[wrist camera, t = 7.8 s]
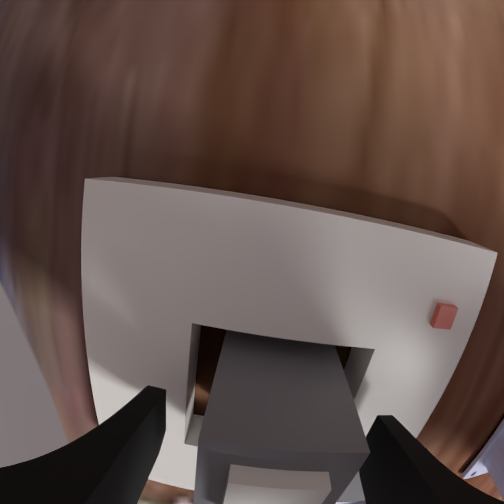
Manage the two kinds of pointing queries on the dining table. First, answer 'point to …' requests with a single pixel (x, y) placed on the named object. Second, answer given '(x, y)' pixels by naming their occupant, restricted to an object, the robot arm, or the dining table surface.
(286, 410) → the plug
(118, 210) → the socket plate
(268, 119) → the dining table surface
